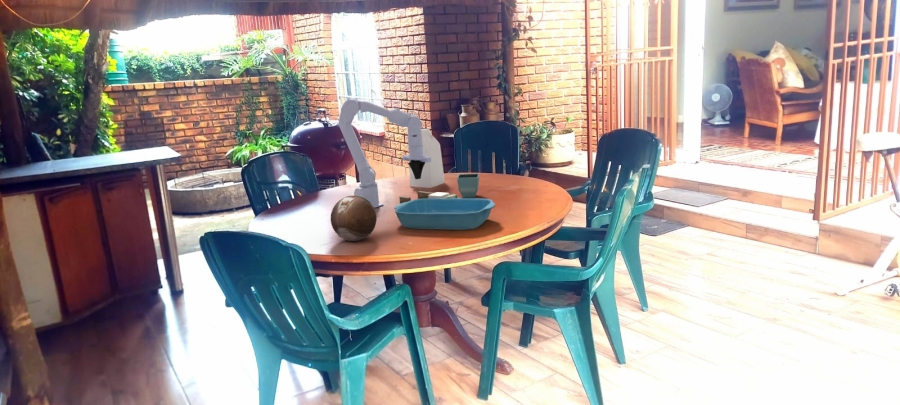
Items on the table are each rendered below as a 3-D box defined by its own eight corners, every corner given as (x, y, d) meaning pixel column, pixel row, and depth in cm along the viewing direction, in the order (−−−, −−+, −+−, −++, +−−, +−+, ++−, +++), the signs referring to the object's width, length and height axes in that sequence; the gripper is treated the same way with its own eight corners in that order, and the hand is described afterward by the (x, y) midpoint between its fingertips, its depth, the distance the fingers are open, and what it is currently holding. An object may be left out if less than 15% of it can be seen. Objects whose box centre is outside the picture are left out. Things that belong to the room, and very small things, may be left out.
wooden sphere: (326, 247, 205) (321, 202, 202) (341, 234, 220) (337, 192, 216) (371, 246, 203) (367, 200, 199) (383, 233, 217) (379, 190, 214)
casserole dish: (384, 230, 221) (382, 210, 220) (410, 215, 242) (408, 196, 240) (486, 234, 209) (484, 213, 207) (503, 217, 229) (502, 197, 227)
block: (441, 207, 250) (440, 196, 249) (429, 206, 254) (428, 195, 253) (449, 203, 255) (449, 193, 254) (437, 202, 259) (437, 192, 258)
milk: (444, 182, 299) (440, 127, 293) (431, 187, 290) (427, 130, 284) (423, 181, 305) (419, 127, 300) (409, 186, 296) (405, 130, 290)
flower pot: (480, 194, 269) (479, 173, 267) (479, 198, 260) (478, 177, 258) (459, 195, 270) (458, 174, 268) (458, 199, 261) (456, 178, 259)
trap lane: (427, 212, 243) (426, 203, 242) (390, 206, 257) (389, 198, 256) (468, 199, 260) (468, 191, 259) (431, 194, 274) (431, 186, 273)
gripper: (435, 144, 254) (437, 178, 257) (409, 143, 263) (412, 175, 266) (422, 147, 249) (425, 181, 252) (397, 145, 258) (400, 178, 261)
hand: (418, 178), depth 259 cm, fingers closed
